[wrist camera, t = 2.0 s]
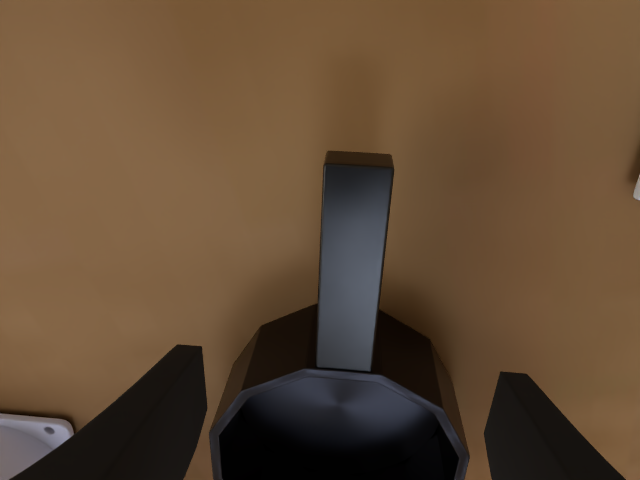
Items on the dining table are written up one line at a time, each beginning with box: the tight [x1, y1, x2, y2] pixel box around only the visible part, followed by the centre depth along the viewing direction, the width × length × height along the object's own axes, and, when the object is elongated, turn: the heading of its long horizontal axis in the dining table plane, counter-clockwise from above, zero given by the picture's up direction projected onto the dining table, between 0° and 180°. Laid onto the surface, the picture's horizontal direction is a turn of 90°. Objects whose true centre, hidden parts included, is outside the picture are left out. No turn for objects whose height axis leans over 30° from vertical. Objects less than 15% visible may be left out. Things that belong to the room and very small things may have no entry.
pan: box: [209, 151, 470, 480], centre depth 19 cm, size 17×10×4 cm, turn 178°
